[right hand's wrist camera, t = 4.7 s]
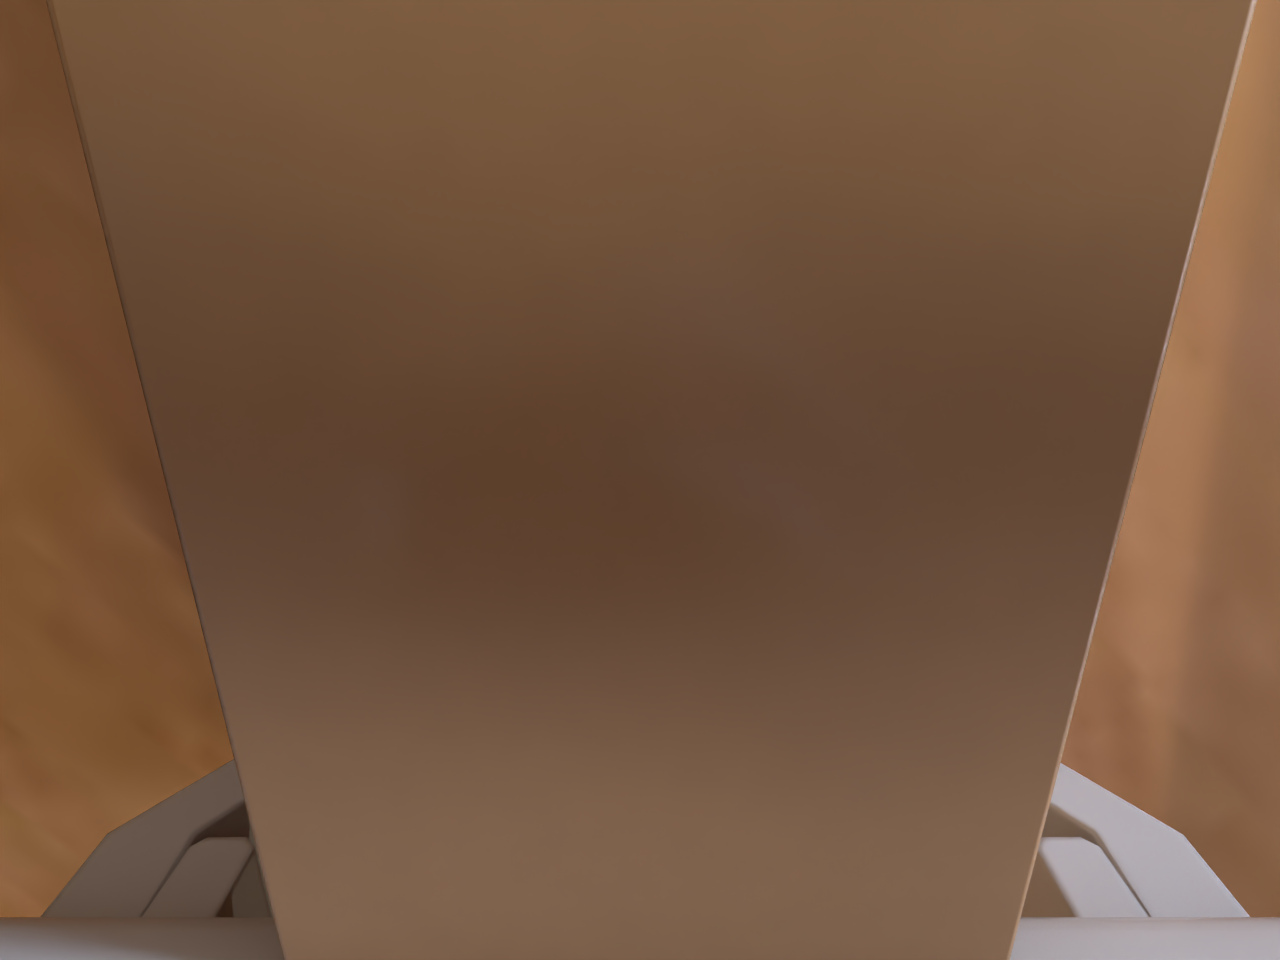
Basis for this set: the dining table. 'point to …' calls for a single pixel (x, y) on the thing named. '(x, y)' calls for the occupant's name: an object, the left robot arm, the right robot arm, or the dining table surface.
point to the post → (649, 439)
